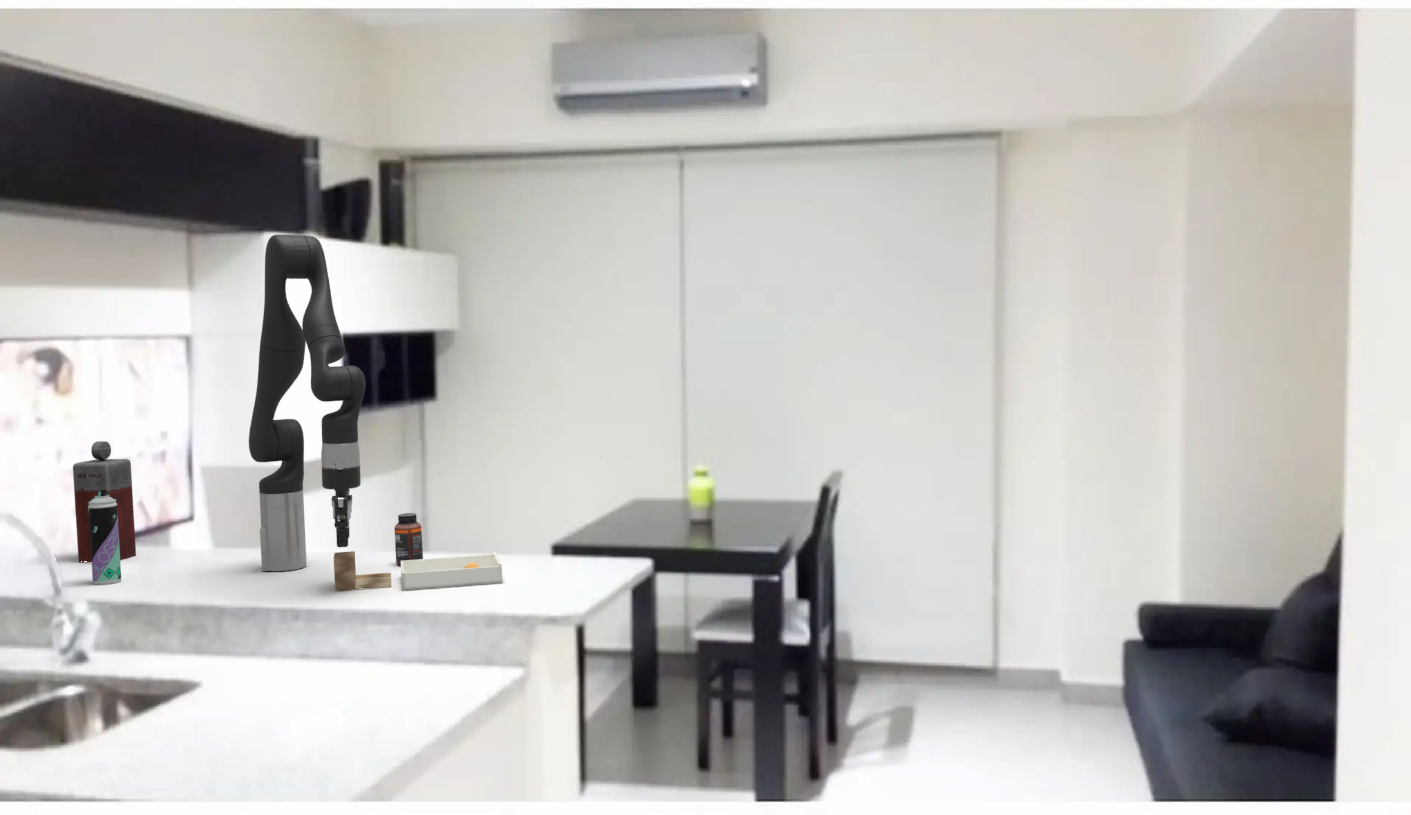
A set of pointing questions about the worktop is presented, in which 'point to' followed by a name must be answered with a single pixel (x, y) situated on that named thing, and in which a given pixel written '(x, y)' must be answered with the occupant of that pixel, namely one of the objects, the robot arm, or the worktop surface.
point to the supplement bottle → (408, 538)
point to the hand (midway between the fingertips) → (343, 542)
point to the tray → (450, 572)
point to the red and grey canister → (118, 486)
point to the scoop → (348, 577)
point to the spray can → (104, 539)
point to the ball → (471, 565)
